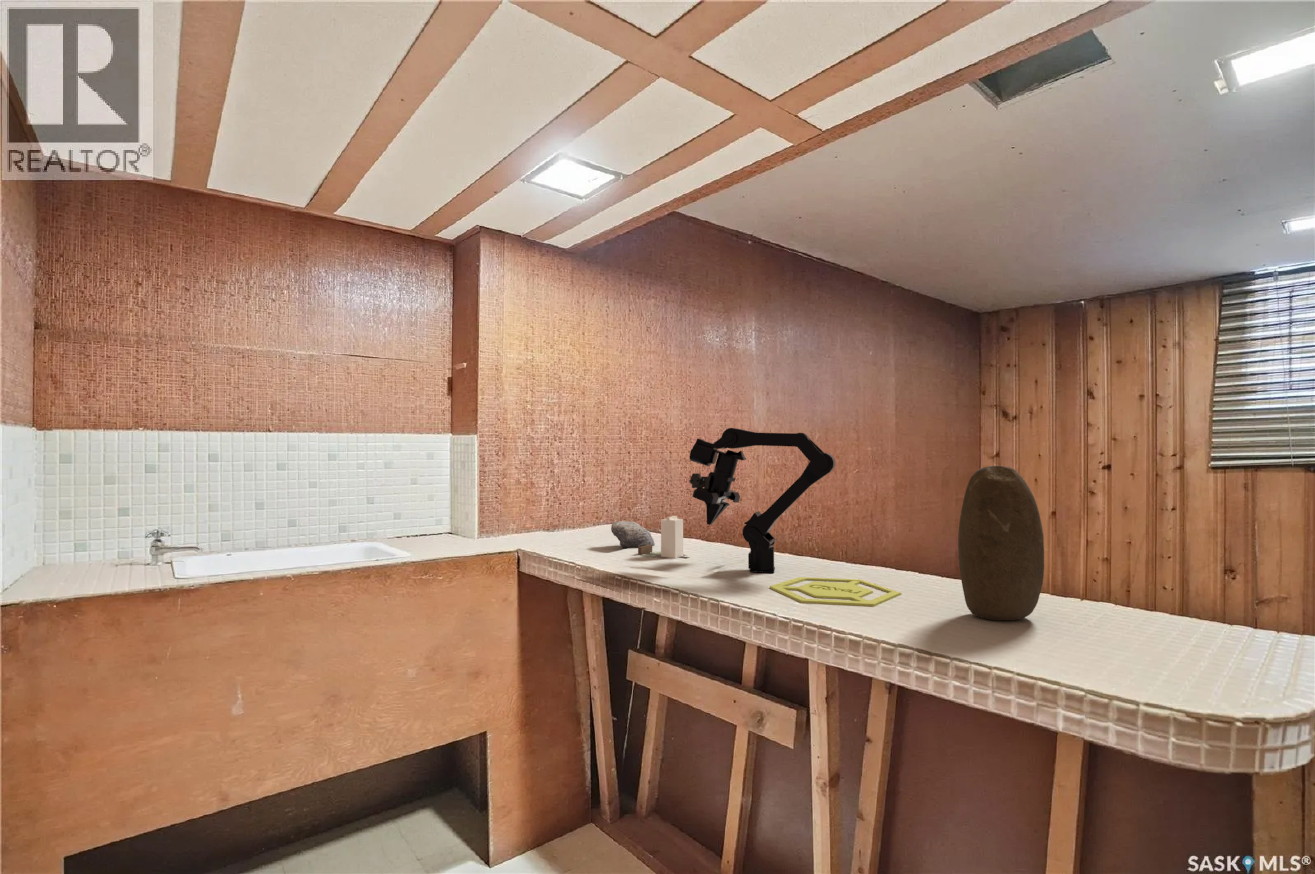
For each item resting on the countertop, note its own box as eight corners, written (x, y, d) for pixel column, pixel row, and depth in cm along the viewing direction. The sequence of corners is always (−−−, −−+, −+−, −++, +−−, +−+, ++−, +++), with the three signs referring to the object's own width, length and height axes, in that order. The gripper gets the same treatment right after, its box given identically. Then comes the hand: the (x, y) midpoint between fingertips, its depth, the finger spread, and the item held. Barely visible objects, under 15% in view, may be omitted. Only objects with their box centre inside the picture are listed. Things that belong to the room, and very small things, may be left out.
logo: (914, 586, 150) (858, 610, 128) (914, 589, 150) (858, 614, 128) (816, 572, 168) (751, 591, 146) (816, 575, 168) (751, 594, 146)
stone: (947, 613, 127) (946, 465, 128) (999, 606, 133) (997, 464, 134) (1004, 630, 116) (1002, 467, 116) (1058, 621, 121) (1055, 465, 122)
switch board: (697, 559, 189) (697, 547, 189) (680, 565, 181) (680, 552, 181) (650, 554, 198) (650, 543, 198) (632, 559, 190) (632, 547, 190)
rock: (637, 559, 203) (632, 530, 201) (606, 549, 216) (602, 522, 214) (662, 548, 210) (658, 520, 208) (631, 539, 222) (627, 512, 221)
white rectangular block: (683, 555, 189) (683, 516, 189) (675, 558, 185) (675, 517, 185) (669, 554, 191) (668, 515, 192) (661, 556, 188) (660, 516, 188)
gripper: (714, 464, 189) (700, 513, 190) (684, 462, 173) (668, 516, 174) (747, 475, 183) (732, 526, 184) (719, 474, 167) (703, 530, 168)
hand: (708, 524), depth 178 cm, fingers closed
